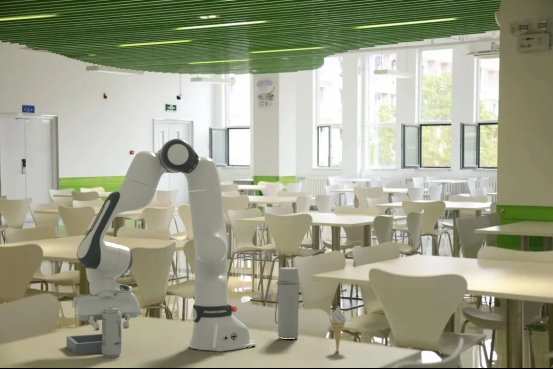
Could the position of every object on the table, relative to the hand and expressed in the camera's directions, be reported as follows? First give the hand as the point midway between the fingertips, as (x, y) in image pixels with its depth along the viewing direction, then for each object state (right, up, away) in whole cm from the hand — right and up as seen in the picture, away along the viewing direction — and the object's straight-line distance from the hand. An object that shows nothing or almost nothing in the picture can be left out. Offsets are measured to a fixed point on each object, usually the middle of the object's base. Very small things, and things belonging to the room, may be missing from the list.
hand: (111, 328), depth 253 cm
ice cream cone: (+72, -10, +11) cm, 74 cm away
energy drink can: (0, -9, 0) cm, 9 cm away
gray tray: (-9, -9, +11) cm, 16 cm away
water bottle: (+56, -9, +32) cm, 65 cm away
